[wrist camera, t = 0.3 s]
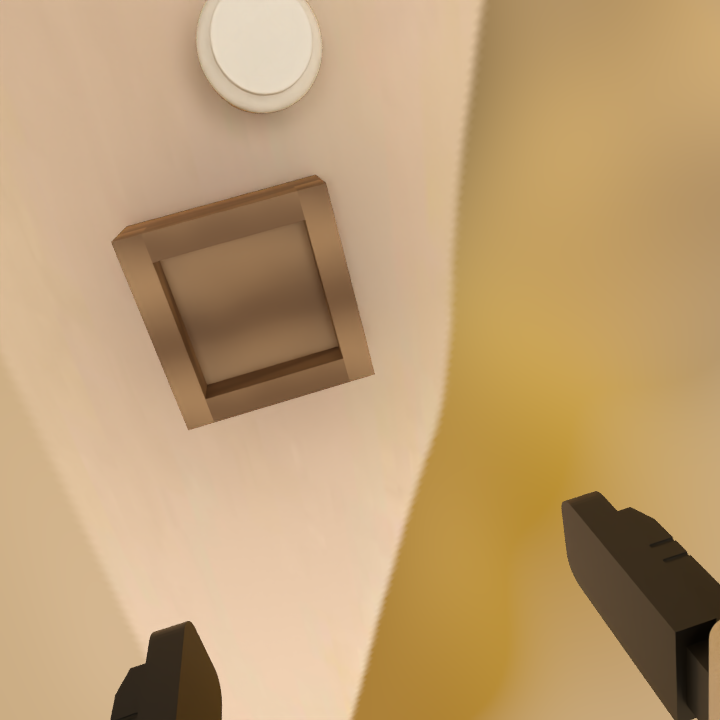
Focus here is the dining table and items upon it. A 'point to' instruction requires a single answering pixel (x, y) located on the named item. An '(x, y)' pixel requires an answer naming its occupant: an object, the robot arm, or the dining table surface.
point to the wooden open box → (247, 300)
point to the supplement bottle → (259, 51)
